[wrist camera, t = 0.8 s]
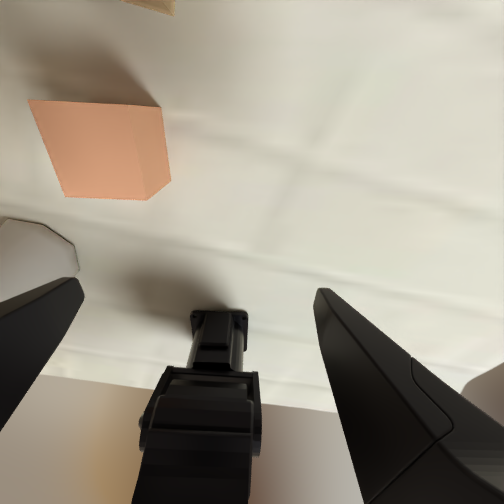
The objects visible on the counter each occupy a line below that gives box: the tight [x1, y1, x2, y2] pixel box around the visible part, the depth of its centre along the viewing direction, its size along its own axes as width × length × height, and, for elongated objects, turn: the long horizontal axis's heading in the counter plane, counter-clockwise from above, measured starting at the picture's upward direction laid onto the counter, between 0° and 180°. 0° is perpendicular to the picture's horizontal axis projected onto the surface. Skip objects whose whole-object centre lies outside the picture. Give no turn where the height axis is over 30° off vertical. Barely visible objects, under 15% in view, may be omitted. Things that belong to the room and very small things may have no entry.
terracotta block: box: [27, 100, 171, 200], centre depth 15 cm, size 5×5×5 cm
